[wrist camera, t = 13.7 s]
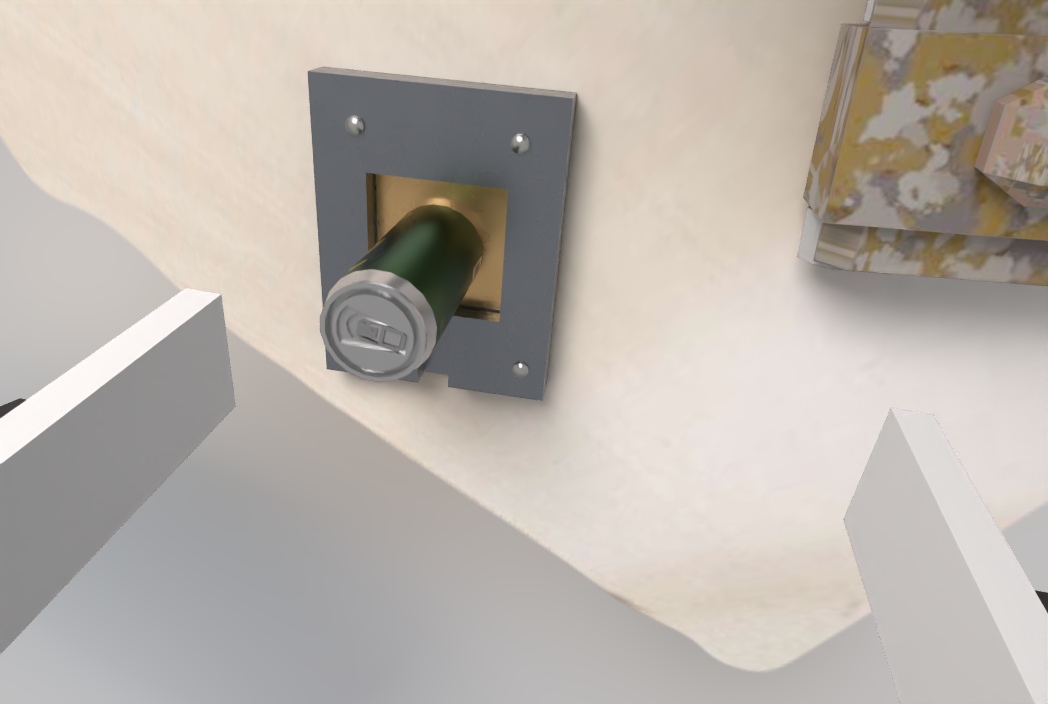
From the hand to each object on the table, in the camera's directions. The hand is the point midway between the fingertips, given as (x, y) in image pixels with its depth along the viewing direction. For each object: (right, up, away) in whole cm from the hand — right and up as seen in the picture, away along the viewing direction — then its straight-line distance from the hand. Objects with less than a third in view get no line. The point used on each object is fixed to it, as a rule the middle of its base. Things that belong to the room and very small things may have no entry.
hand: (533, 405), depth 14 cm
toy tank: (+25, +13, +22) cm, 35 cm away
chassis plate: (-5, +8, +29) cm, 30 cm away
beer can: (-5, +8, +28) cm, 30 cm away
